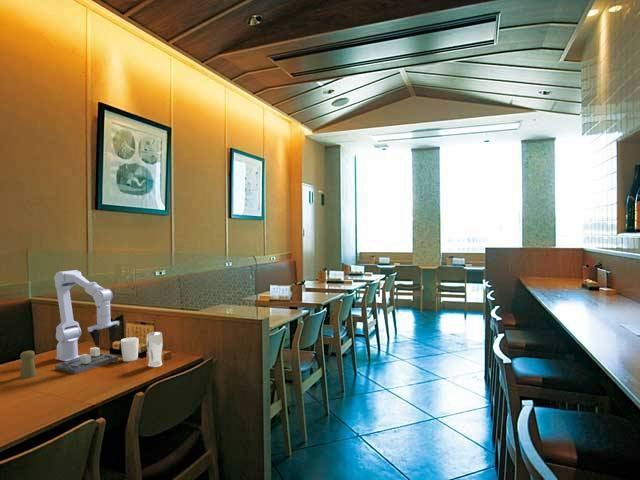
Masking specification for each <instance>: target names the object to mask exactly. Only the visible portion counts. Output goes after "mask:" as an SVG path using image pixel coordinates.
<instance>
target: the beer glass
mask: <svg viewBox="0 0 640 480" xmlns="http://www.w3.org/2000/svg"><path fill="white" fill-rule="evenodd" d="M163 340H164V339H163V332H162V331H151V332H149V333H146V349H147V354H148V364H147V366H148V368H158V367H161V366H162V365H163V362H162V361H163V360H162V351H163V345H164V344H163V343H164V341H163Z"/></svg>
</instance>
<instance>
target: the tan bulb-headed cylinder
mask: <svg viewBox="0 0 640 480" xmlns="http://www.w3.org/2000/svg"><path fill="white" fill-rule="evenodd" d="M35 354H36V353H35V351H34V350H26V351H23V352H21V353H20V355H19V358H20V360H21V366H20V373H19V379H21V380H24V379H25V380H27V379H31V378H34V377H36V376H37V369H36V365H35V364H36V363H35V359H34V358H35V356H36V355H35Z"/></svg>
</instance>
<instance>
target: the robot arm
mask: <svg viewBox="0 0 640 480" xmlns="http://www.w3.org/2000/svg"><path fill="white" fill-rule="evenodd" d="M53 279H54V286H55V289H56V295H57V302H58V308H59V315H60V317H59V318H60V323H59V324H58V325H57V326H56V327H55V330H56V333H55V339H56V340H57V341H58V343H57V344H56V357H55V359H54V360H58V361H59V360H60V361H62V362H67V361H71V360H74V359H78V358H80V355H81V354H80V355H79V349H78V340H80V338H81V335H82V330H81V327H80V323H79V322H78V321H75V320H74V313H73V307H72V299H71V292H70V290H71V288H72V287H73V286H75V285H76V284H77V285H79V286H80V287H82V288H84V292H85V293H87V294H88V295H90V296H91V297H93V301H94V302H95V307H96V324H94V325H91V326H88V327H87V331H88V333H89V335H90V336H91V339H92V341H93V343H94V346H95V347H96V346H99V345H100V334H101V331H99V330H103V329H108V333H109V335H108V336H109V342H112V343H113V342H115V338H116V335H117V332H118V330H119V328H120V327H119V326H120V320H114V321H112V320H111V301H112V300H113V297H114V294H113V292H112V290H111V289H110V288H104V287H103V286H100V285H99V284H98V283H97V282H96V281H91V282H90V280H88V279H87V278H86V277H84V276H83V275H82V272H81V271H79V270H78V269H74V270H64V271H57V272H56V273H55V275H54V276H53Z"/></svg>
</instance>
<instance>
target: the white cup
mask: <svg viewBox="0 0 640 480" xmlns="http://www.w3.org/2000/svg"><path fill="white" fill-rule="evenodd" d="M120 346H121V347H120V349H121V355H122V361H123V362H133V361H134V362H135V361H136V360H138V359H139V358H138V357H139V337H137V336H136V337H135V336H133V337H132V336H131V337H126V338H122V339H121V340H120Z"/></svg>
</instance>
